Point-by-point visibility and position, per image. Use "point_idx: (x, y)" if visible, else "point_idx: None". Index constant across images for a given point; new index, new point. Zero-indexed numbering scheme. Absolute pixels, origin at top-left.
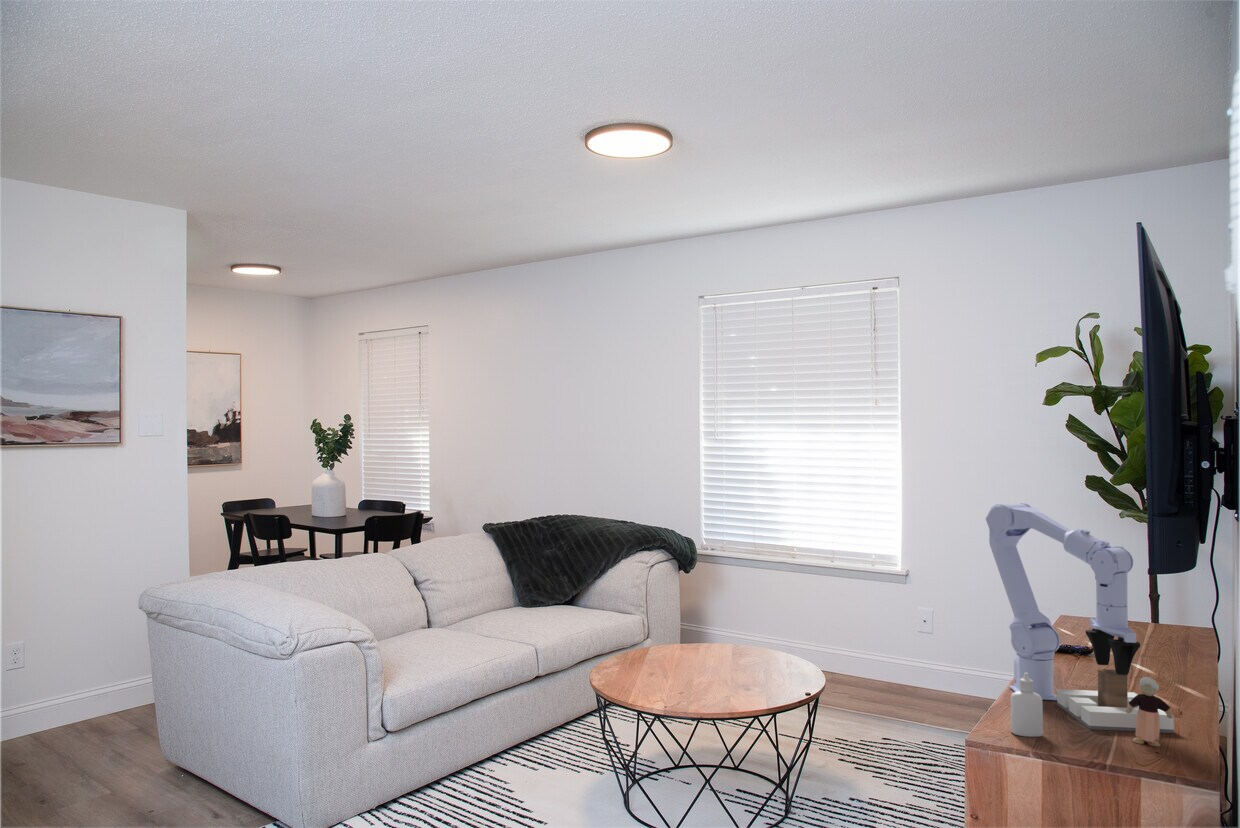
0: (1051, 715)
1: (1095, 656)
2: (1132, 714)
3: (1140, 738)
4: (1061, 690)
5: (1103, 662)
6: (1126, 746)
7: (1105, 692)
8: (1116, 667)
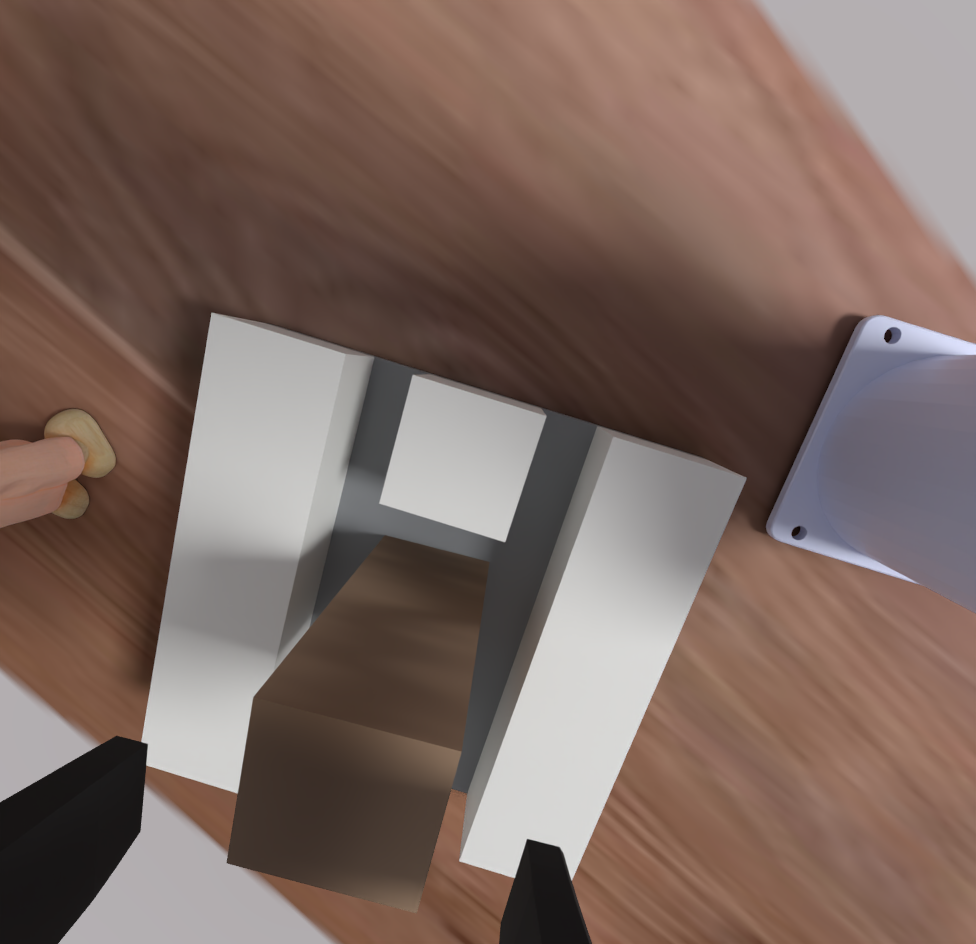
0: (531, 273)
1: (575, 940)
2: (171, 565)
3: (46, 438)
4: (707, 484)
5: (512, 915)
6: (18, 322)
7: (365, 604)
8: (28, 787)
